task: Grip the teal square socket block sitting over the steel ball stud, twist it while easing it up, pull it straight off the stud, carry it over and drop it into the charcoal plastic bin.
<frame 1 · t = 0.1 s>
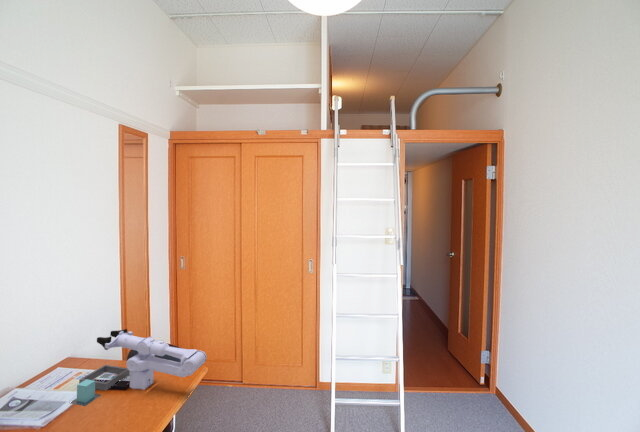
hand: (104, 336, 150), 21 cm above the table, tool horizontal, fingers open, 7 cm apart
bin: (105, 382, 149), on the table
stud plate: (85, 401, 135), on the table
socket block: (85, 398, 135), point 1 cm above the table, touching stud plate
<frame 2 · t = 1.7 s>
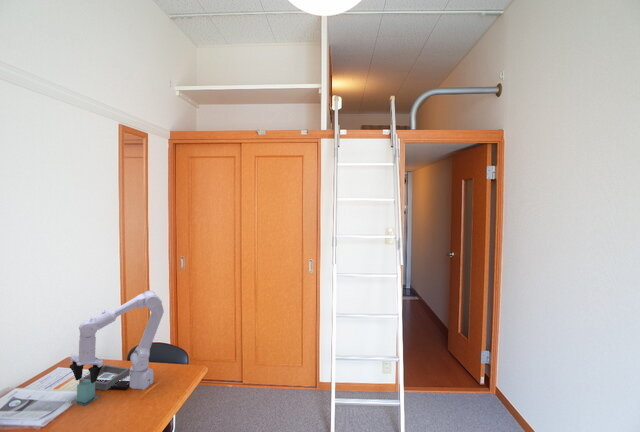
hand: (86, 380, 134), 9 cm above the table, tool pointing down, fingers open, 7 cm apart
nothing on the table moved.
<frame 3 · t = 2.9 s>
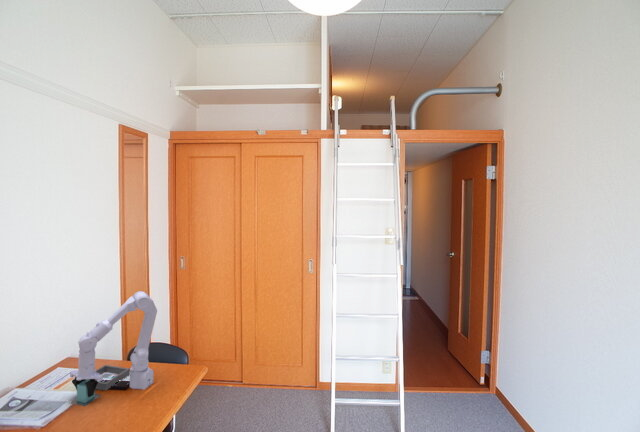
hand: (85, 394, 135), 3 cm above the table, tool pointing down, fingers closed on socket block, 4 cm apart
socket block: (85, 398, 135), point 1 cm above the table, touching gripper, stud plate
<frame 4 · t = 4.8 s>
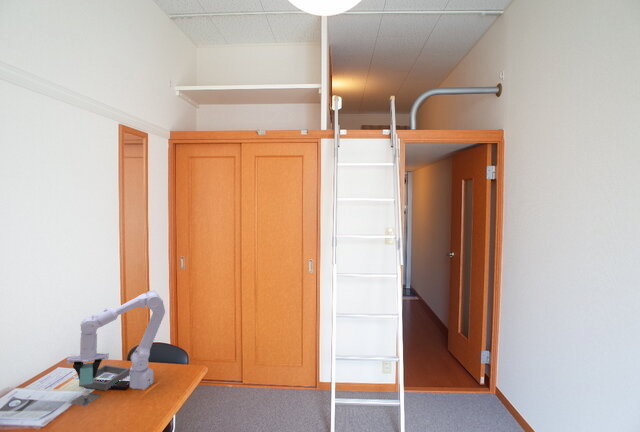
hand: (87, 377, 135), 10 cm above the table, tool pointing down, fingers closed on socket block, 4 cm apart
socket block: (87, 381, 135), point 8 cm above the table, touching gripper
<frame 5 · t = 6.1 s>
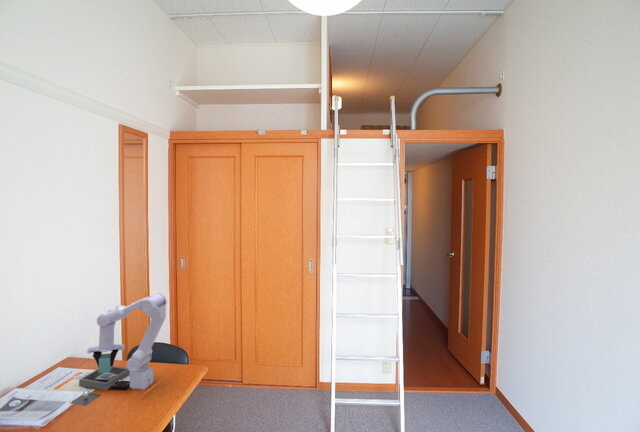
hand: (105, 366, 149), 8 cm above the table, tool pointing down, fingers closed on socket block, 4 cm apart
socket block: (105, 370, 149), point 6 cm above the table, touching gripper
when the fingers open (5 cm above the table, at t = 7.1 s): socket block drops 2 cm, resting on bin.
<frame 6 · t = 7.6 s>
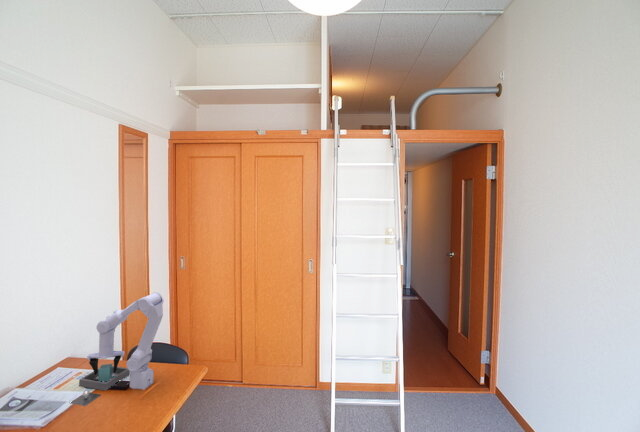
hand: (105, 372, 149), 5 cm above the table, tool pointing down, fingers open, 7 cm apart
socket block: (105, 381, 149), point 1 cm above the table, touching bin
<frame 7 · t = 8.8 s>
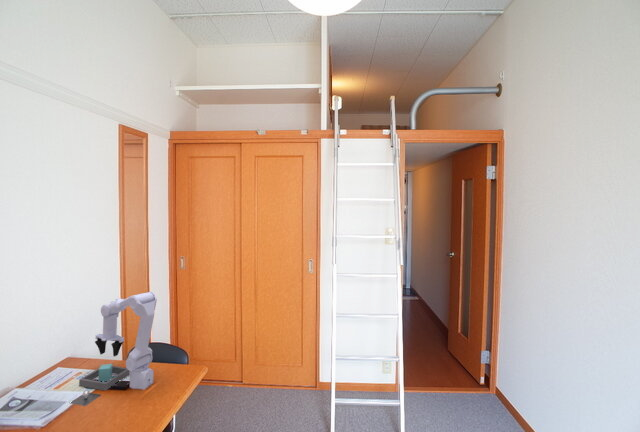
hand: (109, 354, 157), 9 cm above the table, tool pointing down, fingers open, 7 cm apart
nothing on the table moved.
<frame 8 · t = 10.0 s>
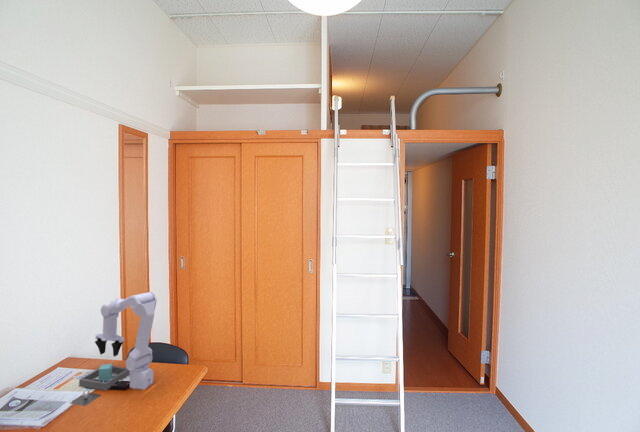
hand: (109, 354, 157), 9 cm above the table, tool pointing down, fingers open, 7 cm apart
nothing on the table moved.
at the end: socket block inside the target area on the bin (0.1 cm from its centre), point 0.6 cm above the bin's base; the gripper is holding nothing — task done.
